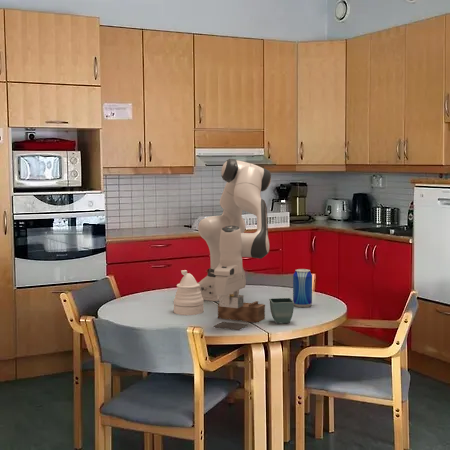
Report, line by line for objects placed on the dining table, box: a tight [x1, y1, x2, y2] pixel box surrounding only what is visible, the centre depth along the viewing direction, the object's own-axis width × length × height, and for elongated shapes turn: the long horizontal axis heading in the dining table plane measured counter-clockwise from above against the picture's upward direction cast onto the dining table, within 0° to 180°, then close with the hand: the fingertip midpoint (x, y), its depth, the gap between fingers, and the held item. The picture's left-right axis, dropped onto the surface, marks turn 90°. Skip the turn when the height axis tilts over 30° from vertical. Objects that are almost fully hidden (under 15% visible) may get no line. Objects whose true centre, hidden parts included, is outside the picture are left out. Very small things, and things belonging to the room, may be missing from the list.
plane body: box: [217, 300, 266, 323], centre depth 281 cm, size 18×7×8 cm, turn 63°
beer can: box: [292, 268, 313, 308], centre depth 305 cm, size 8×8×16 cm
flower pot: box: [268, 297, 295, 324], centre depth 275 cm, size 9×9×9 cm
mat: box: [213, 321, 249, 331], centre depth 268 cm, size 11×8×1 cm
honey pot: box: [173, 269, 205, 316], centre depth 294 cm, size 13×13×18 cm
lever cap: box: [218, 294, 244, 308], centre depth 267 cm, size 8×5×5 cm, turn 63°
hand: (231, 303), depth 267 cm, fingers closed on lever cap, 5 cm apart
